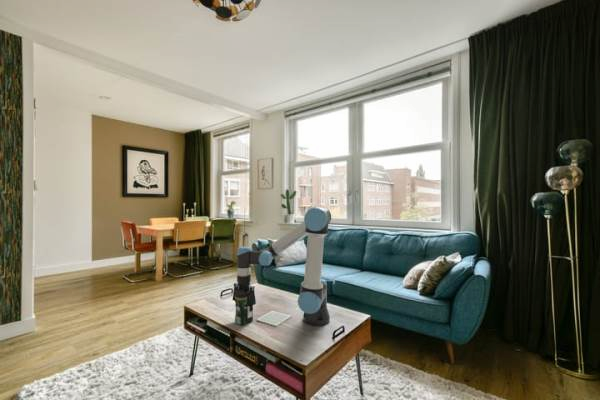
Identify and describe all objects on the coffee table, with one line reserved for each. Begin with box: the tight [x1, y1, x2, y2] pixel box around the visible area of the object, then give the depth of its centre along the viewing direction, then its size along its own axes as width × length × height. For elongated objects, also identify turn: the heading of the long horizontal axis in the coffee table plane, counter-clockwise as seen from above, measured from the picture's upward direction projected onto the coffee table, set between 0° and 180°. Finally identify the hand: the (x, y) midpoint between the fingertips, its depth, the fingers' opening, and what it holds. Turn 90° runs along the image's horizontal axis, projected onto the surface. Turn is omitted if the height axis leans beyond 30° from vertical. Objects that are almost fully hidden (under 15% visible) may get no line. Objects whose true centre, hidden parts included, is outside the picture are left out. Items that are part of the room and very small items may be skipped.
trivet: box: [256, 310, 292, 328], centre depth 156 cm, size 14×14×1 cm
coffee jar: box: [234, 289, 254, 326], centre depth 152 cm, size 10×8×19 cm
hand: (244, 315), depth 152 cm, fingers closed on coffee jar, 8 cm apart
